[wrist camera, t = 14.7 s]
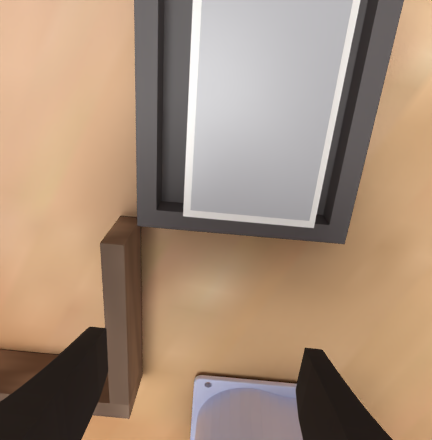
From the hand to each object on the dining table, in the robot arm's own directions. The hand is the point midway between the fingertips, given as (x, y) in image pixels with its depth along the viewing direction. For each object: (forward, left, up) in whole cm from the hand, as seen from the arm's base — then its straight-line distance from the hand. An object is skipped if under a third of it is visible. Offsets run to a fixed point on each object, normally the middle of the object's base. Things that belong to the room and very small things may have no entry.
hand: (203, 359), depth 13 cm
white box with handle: (-1, -8, -9) cm, 12 cm away
